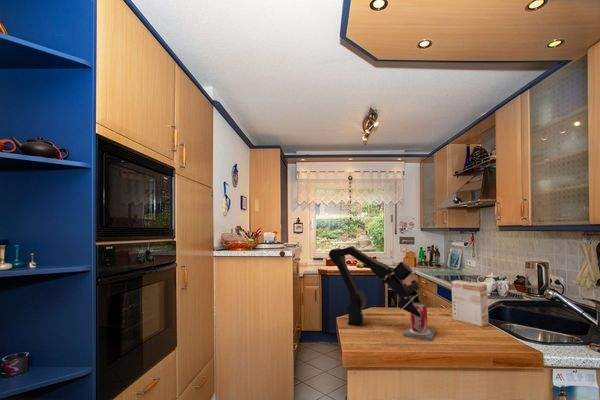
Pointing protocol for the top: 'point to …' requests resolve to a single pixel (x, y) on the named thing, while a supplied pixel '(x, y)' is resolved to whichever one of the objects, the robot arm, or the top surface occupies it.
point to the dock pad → (420, 334)
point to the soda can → (419, 319)
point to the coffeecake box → (470, 302)
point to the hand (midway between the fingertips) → (422, 313)
